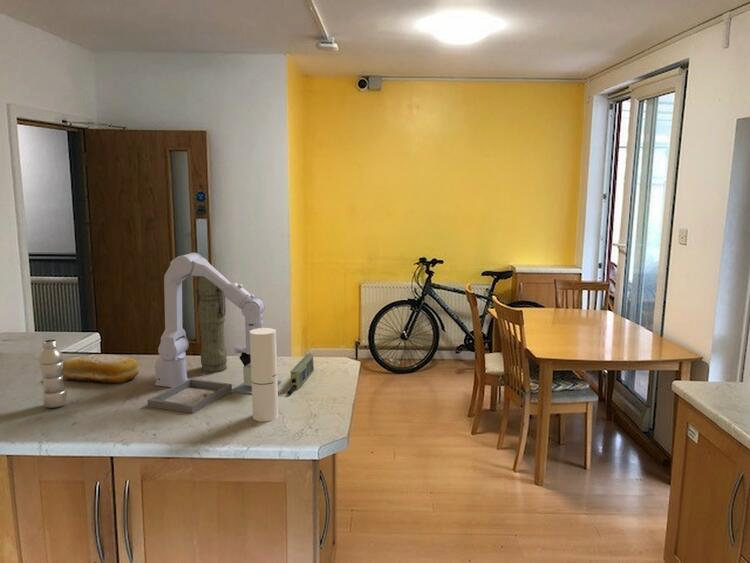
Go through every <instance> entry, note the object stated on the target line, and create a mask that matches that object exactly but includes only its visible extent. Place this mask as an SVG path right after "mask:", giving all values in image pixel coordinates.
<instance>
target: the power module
mask: <svg viewBox="0 0 750 563" xmlns="http://www.w3.org/2000/svg"><path fill="white" fill-rule="evenodd" d="M242 371H243V372H242V373H243V383H244V385H247V386H252V381H251V363H250V364H248V365H246V366H244V365H243V367H242Z"/></svg>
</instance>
